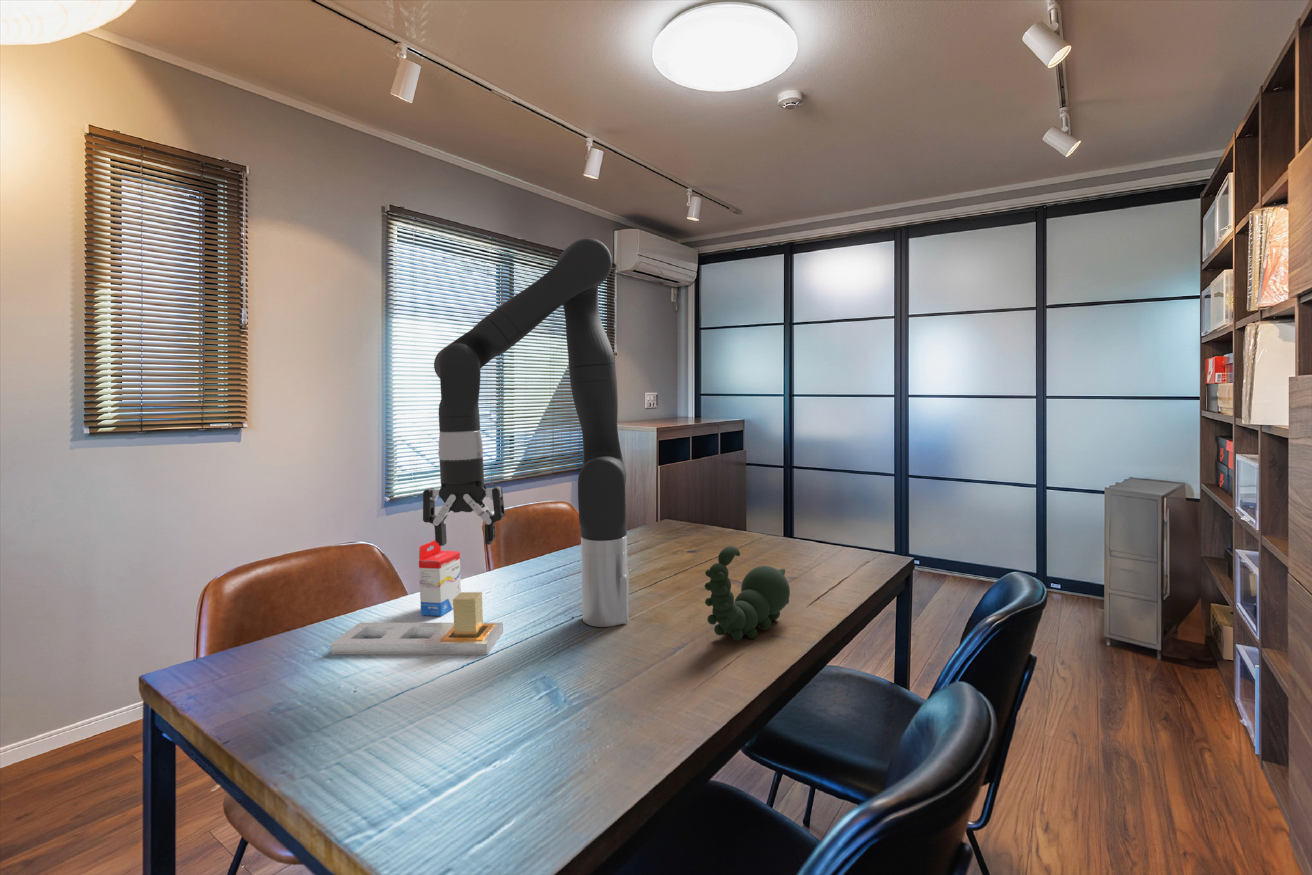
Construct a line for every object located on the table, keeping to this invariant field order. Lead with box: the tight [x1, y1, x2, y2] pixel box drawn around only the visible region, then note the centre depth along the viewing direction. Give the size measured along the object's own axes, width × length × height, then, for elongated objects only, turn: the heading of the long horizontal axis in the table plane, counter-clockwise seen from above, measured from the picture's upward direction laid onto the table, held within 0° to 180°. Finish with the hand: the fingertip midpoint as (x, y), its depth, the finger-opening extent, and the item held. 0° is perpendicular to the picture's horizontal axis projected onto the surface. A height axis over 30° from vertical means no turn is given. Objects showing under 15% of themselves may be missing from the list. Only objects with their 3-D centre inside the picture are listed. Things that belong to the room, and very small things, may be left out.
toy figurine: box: [704, 545, 791, 641], centre depth 118 cm, size 9×19×25 cm
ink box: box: [418, 539, 462, 617], centre depth 131 cm, size 8×5×15 cm, turn 168°
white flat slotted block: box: [330, 622, 504, 656], centre depth 114 cm, size 28×10×2 cm, turn 88°
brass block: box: [452, 591, 484, 638], centre depth 113 cm, size 4×4×9 cm
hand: (465, 544), depth 112 cm, fingers open, 8 cm apart
